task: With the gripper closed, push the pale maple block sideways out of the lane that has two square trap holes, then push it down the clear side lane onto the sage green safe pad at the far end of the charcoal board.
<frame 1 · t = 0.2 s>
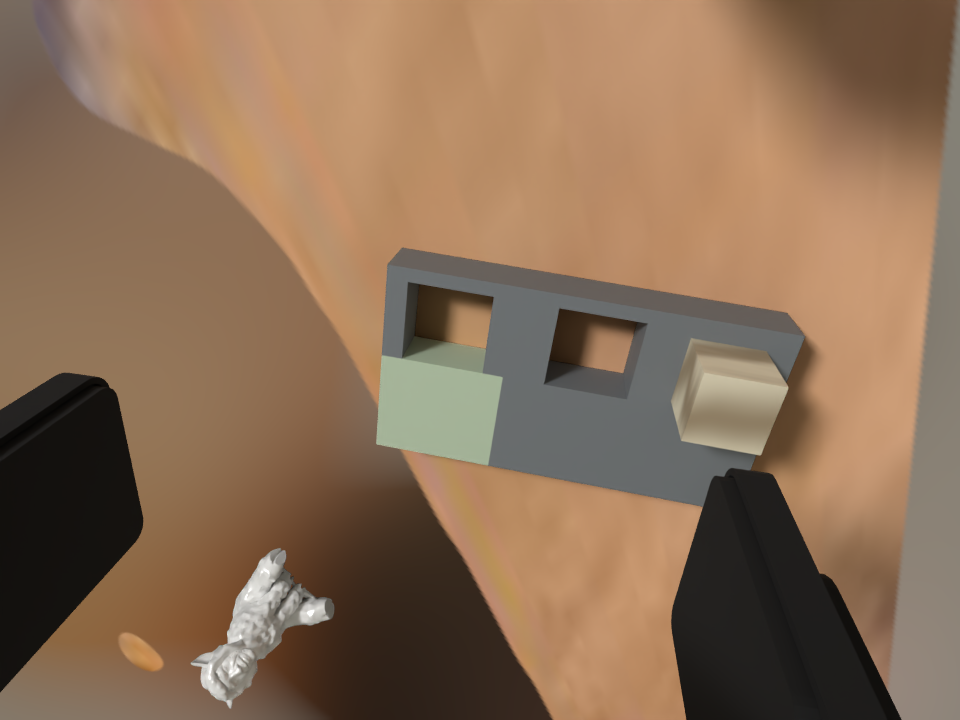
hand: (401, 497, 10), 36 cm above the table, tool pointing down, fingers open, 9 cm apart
maple block: (717, 377, 43), point 4 cm above the table, touching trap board
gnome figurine: (282, 588, 65), on the table
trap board: (570, 369, 49), on the table
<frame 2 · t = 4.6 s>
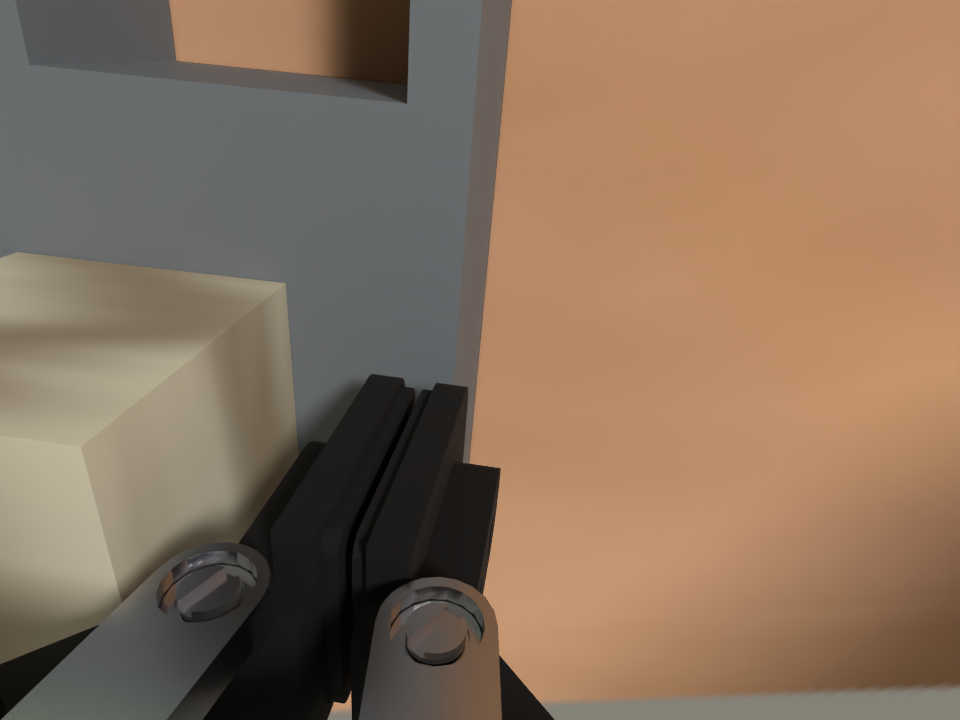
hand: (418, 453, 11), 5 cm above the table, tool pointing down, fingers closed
maple block: (170, 391, 12), point 4 cm above the table, touching gripper
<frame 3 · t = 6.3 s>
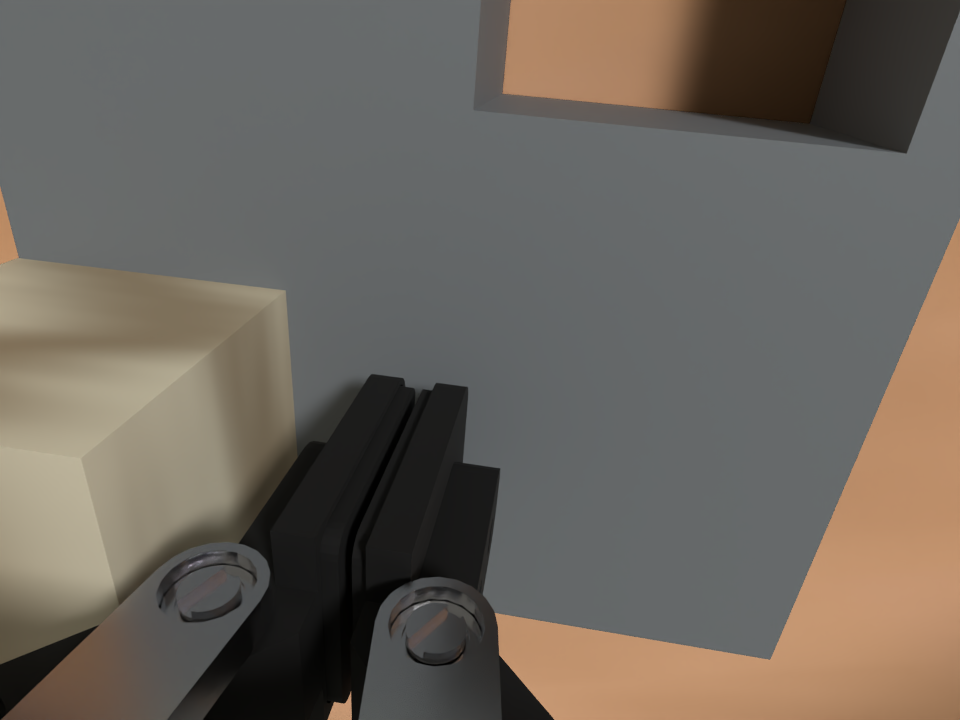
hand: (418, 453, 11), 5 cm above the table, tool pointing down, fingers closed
maple block: (170, 396, 12), point 4 cm above the table, touching gripper, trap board
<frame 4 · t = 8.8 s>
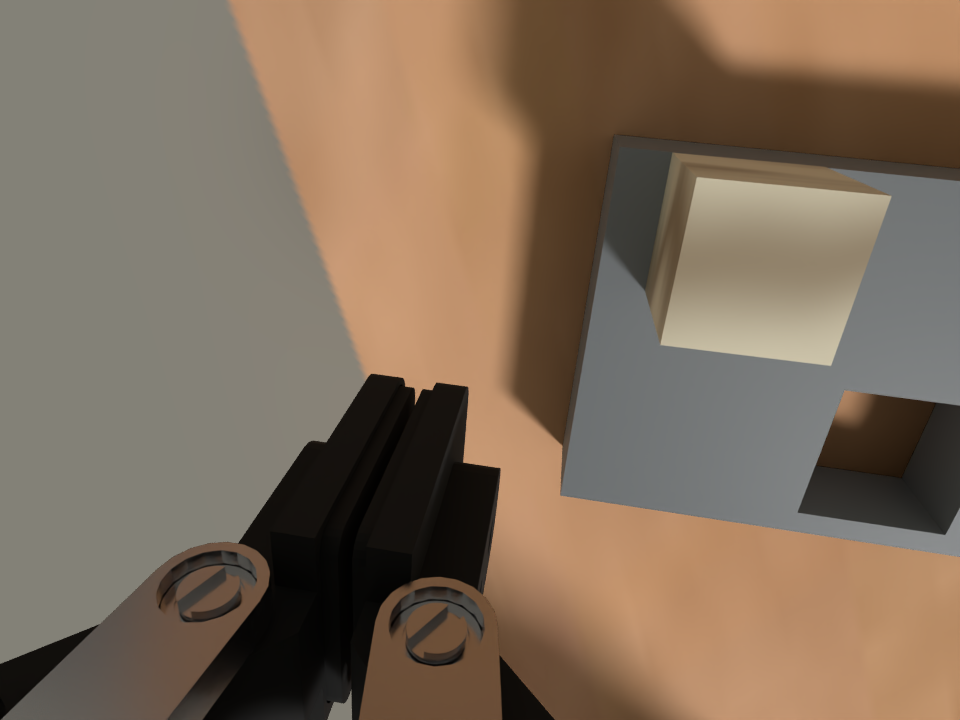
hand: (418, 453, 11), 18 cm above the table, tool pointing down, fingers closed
maple block: (729, 232, 22), point 4 cm above the table, touching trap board
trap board: (909, 349, 27), on the table
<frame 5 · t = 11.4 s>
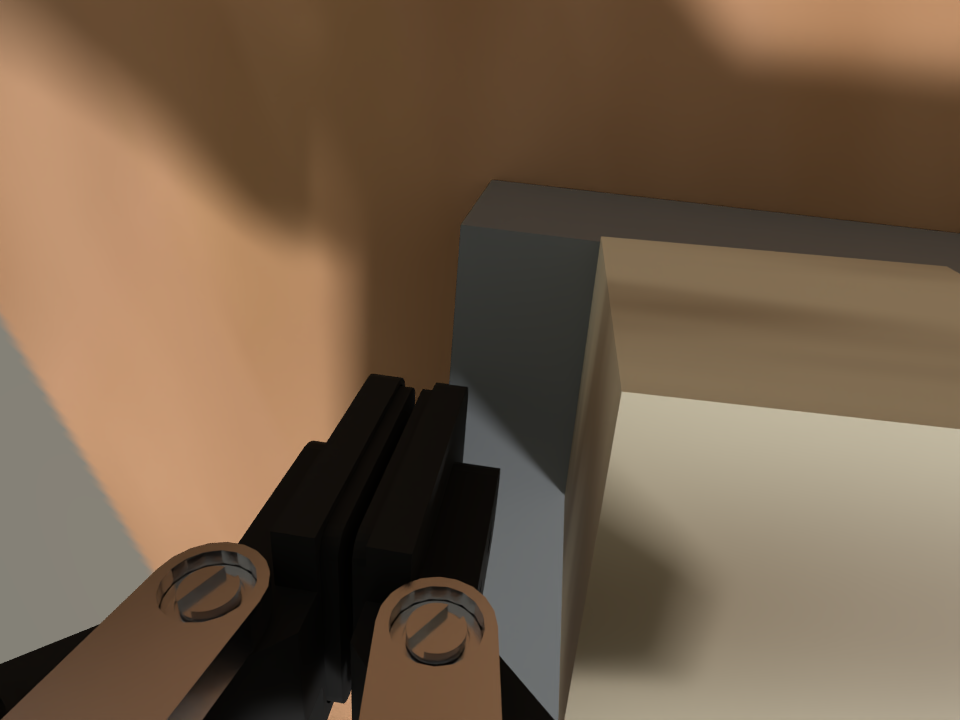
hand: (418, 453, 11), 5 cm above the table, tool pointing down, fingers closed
maple block: (730, 396, 10), point 4 cm above the table, touching gripper
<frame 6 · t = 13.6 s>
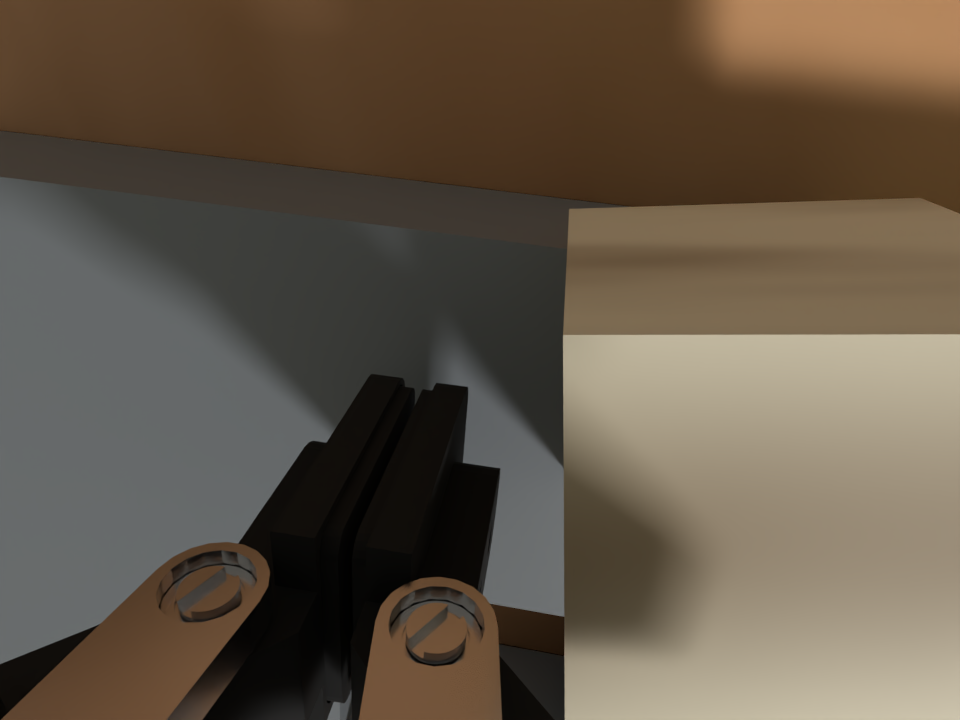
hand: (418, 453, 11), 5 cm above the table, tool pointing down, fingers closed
maple block: (720, 355, 10), point 4 cm above the table, touching gripper
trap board: (531, 479, 17), on the table
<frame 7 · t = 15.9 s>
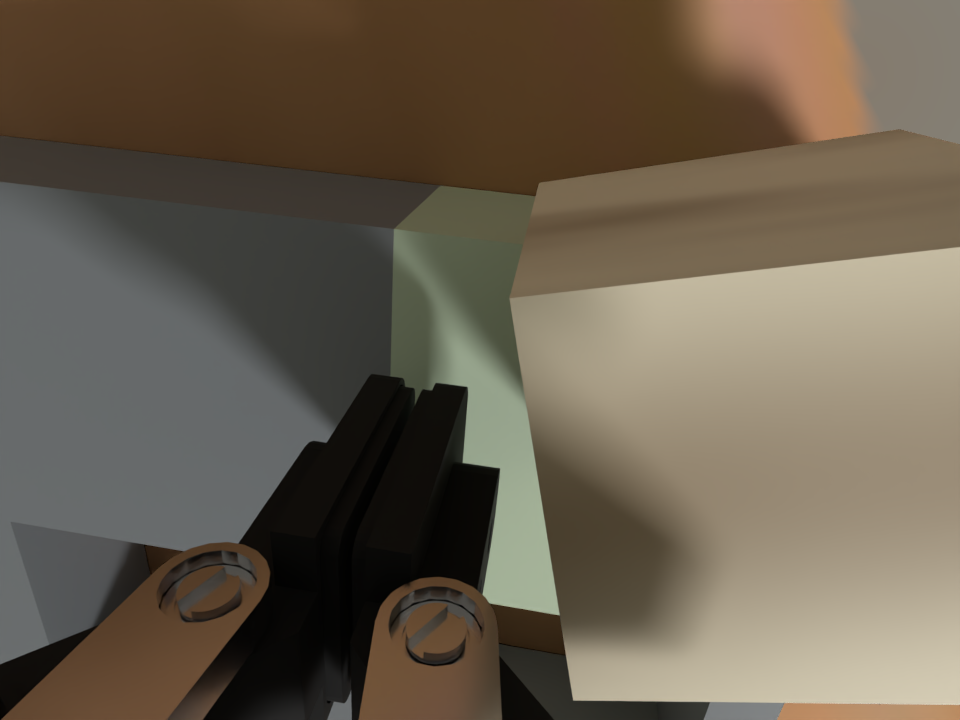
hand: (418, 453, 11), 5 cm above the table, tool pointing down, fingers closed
maple block: (711, 315, 10), point 4 cm above the table, touching gripper, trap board
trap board: (251, 436, 18), on the table
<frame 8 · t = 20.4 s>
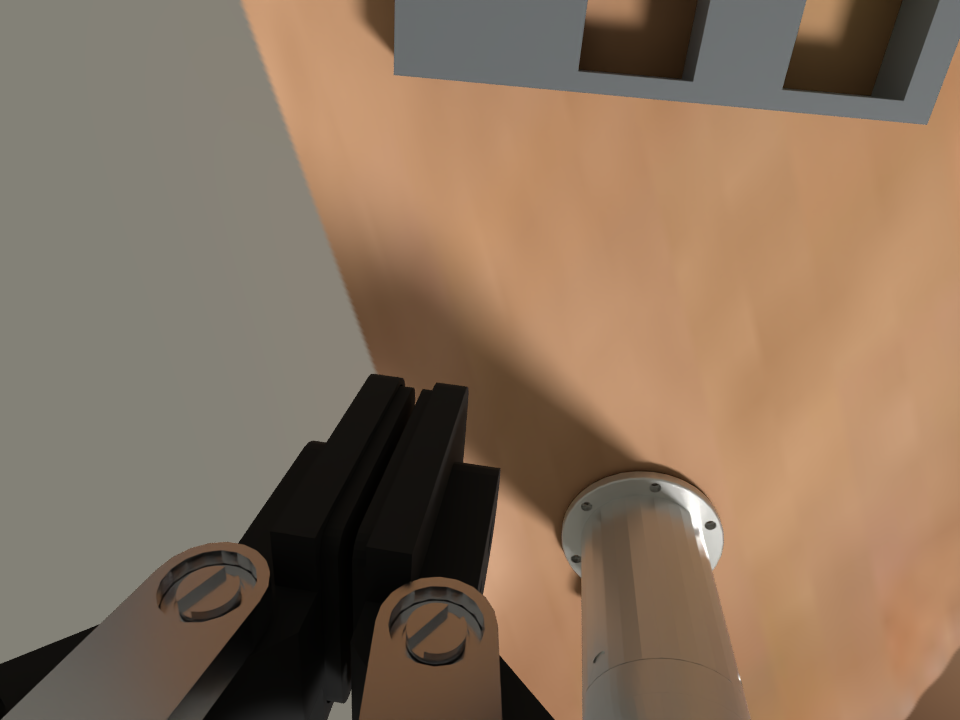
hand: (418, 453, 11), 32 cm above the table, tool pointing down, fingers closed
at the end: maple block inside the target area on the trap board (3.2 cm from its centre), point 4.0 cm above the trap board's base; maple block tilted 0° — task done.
